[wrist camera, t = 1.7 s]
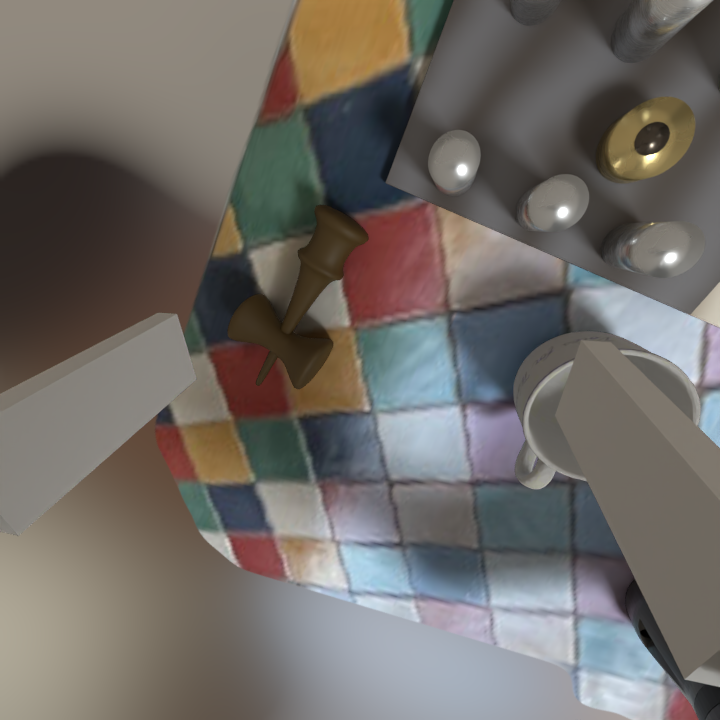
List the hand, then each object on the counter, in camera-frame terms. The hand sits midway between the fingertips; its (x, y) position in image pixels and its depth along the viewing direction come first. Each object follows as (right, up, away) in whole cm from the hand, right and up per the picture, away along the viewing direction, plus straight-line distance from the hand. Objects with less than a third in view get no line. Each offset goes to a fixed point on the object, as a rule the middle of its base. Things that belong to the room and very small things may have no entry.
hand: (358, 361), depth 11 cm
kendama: (-5, +6, +24) cm, 25 cm away
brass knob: (+19, +15, +12) cm, 27 cm away
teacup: (+19, -3, +20) cm, 27 cm away
